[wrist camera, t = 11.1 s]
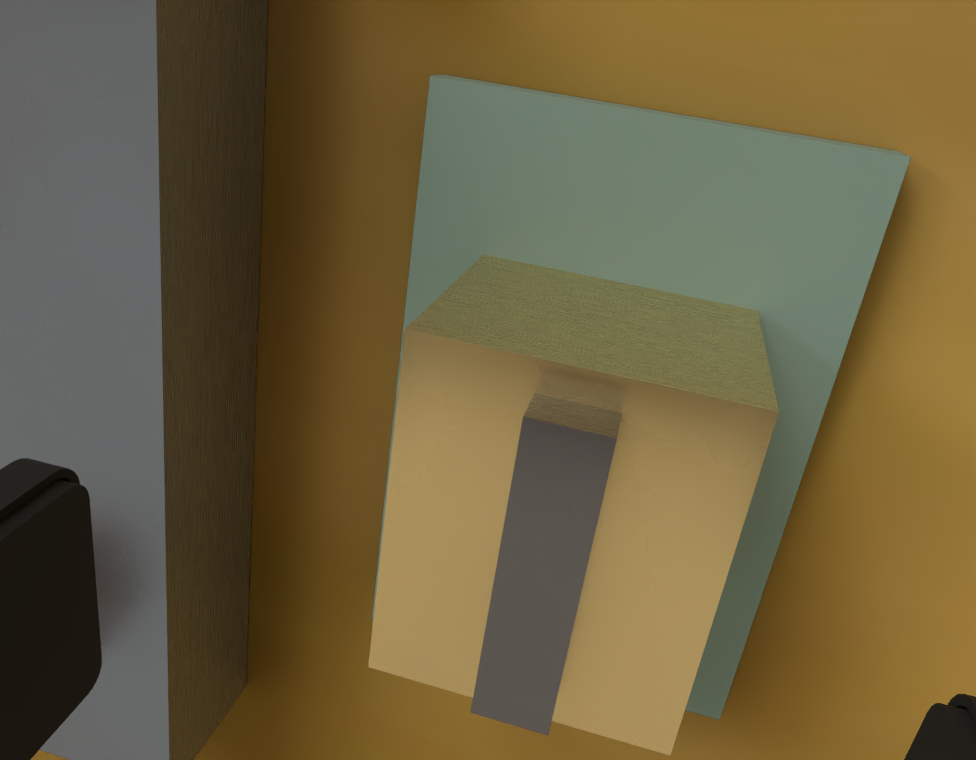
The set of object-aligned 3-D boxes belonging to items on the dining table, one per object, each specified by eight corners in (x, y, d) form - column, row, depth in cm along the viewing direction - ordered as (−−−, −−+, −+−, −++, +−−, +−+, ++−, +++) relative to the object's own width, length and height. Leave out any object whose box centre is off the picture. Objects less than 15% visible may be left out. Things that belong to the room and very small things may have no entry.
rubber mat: (443, 74, 15) (430, 75, 14) (900, 151, 14) (910, 157, 13) (383, 600, 20) (371, 621, 19) (718, 694, 19) (719, 720, 18)
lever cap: (483, 254, 15) (385, 347, 11) (757, 310, 15) (785, 438, 10) (444, 525, 18) (349, 701, 13) (677, 585, 17) (668, 797, 12)
